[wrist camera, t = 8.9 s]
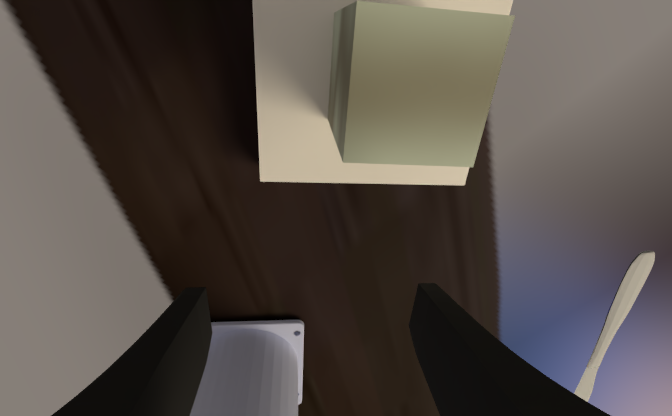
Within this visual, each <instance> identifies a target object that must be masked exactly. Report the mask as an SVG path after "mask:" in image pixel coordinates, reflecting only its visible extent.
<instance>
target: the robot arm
mask: <svg viewBox="0 0 672 416" xmlns="http://www.w3.org/2000/svg"><path fill="white" fill-rule="evenodd" d="M409 328H410V332H411V336H412V341H413V344H414V348H415V352H416V355H417V358H418V360H419V363H420V365H421V368H422V370H423V373H424V376H425V378H426V381H427V383H428V386H429V388H430V391H431V393H432V396H433V398H434V401H435V403H436V406H437V408H438V411H439V413H440V416H610V415H609V414H607V413H605V412H603V411H601V410H600V409H598V408H596V407H595V406H593V405H591V404H590V403H588V402H586V401H585V400H583V399H581V398H580V397H578V396H577V395H575V394H573V393H572V392H570V391H569V390H567V389H565V388H564V387H562V386H561V385H559V384H558V383H556V382H555V381H553V380H552V379H550V378H549V377H547V376H546V375H544V374H543V373H541V372H540V371H539V370H537V369H536V368H534V367H533V366H531V365H530V364H529V363H527V362H526V361H525V360H523V359H522V358H520V357H519V356H518V355H516V354H515V353H514V352H513V351H511V350H510V349H509V348H508V347H506V346H505V345H504V344H503V343H502V342H500V341H499V340H498V339H497V338H495V337H494V336H493V335H492V334H491V333H489V332H488V331H487V330H486V329H485V328H484V327H483V326H481V325H480V324H479V323H478V322H477V321H476V320H475V319H473V318H472V317H471V316H470V315H469V314H468V313H467V312H466V311H465V310H464V309H463V308H461V307H460V306H459V305H458V304H457V303H456V302H455V301H454V300H453V299H452V298H451V297H450V296H449V295H448V294H447V293H445V292H444V291H443V290H442V289H441V288H440V287H439V286H438V285H437V284H435V283H420V284H418V288H417V293H416V297H415V301H414V306H413V310H412V314H411V319H410V323H409ZM295 331H298V332H295ZM303 347H304V323H303V322H302V321H301V320H270V321H237V322H211V319H210V312H209V306H208V299H207V292H206V287H201V288H186V289H184V290H183V291H182V293H181V294H180V295H179V296H178V297H177V298H176V299H175V300H174V301H173V303H172V304H171V305H170V306H169V307H168V308H167V309H166V310H165V311H164V313H163V314H162V315H161V316H160V317H159V318H158V319H157V320H156V321H155V322H154V323H153V324H152V325H151V327H150V328H149V329H148V330H147V331H146V332H145V333H144V334H143V335H142V336H141V337H140V338H139V339H138V340H137V341H136V342H135V343H134V344H133V345H132V346H131V347H130V348H129V349H128V350H127V351H126V352H125V353H124V354H123V355H122V356H121V357H120V358H119V359H118V360H116V361H115V362H114V363H113V364H112V365H111V366H110V367H109V368H108V369H107V370H106V371H105V372H104V373H102V374H101V375H100V376H99V377H98V378H97V379H96V380H94V381H93V382H92V383H91V384H90V385H89V386H88V387H86V388H85V389H84V390H83V391H82V392H80V393H79V394H78V395H77V396H76V397H74V398H73V399H72V400H71V401H69V402H68V403H67V404H66V405H64V406H63V407H62V408H61V409H60V410H58V411H57V412H55V413H54V414H53V415H52V416H298V405H299V404H300V403H301V402H302V382H303Z"/></svg>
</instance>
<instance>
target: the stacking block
mask: <svg viewBox="0 0 672 416" xmlns="http://www.w3.org/2000/svg"><path fill="white" fill-rule="evenodd" d="M514 18H515V16H510V15H500V14H490V13H479V12H469V11H458V10H448V9H438V8H427V7H417V6H406V5H396V4H386V3H375V2H365V1H355V2H354V3H352V4H350V5H348V6H346V7H344V8H342V9H340V10H338V11H337V12H335V13H334V24H333V40H332V56H331V73H330V89H329V105H328V122H329V125H330V127H331V130H332V133H333V136H334V139H335V142H336V145H337V147H338V150H339V153H340V156H341V159H342V162H343V163H366V164H395V165H424V166H453V167H473V166H474V162H475V158H476V155H477V151H478V148H479V144H480V140H481V137H482V133H483V130H484V126H485V122H486V119H487V115H488V111H489V108H490V104H491V101H492V97H493V93H494V90H495V86H496V83H497V79H498V75H499V72H500V68H501V65H502V61H503V57H504V54H505V50H506V46H507V43H508V39H509V35H510V32H511V28H512V25H513V21H514Z"/></svg>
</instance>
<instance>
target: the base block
mask: <svg viewBox="0 0 672 416" xmlns="http://www.w3.org/2000/svg"><path fill="white" fill-rule="evenodd" d="M355 1H365V2H375V3H386V4H396V5H406V6H417V7H427V8H438V9H448V10H458V11H469V12H479V13H490V14H500V15H509V14H510V10H511V7H512V3H513V0H252V3H253V27H254V50H255V73H256V97H257V120H258V143H259V166H260V181H263V182H316V183H368V184H421V185H465V182H466V178H467V174H468V170H469V167H453V166H424V165H395V164H366V163H343V162H342V159H341V156H340V153H339V150H338V147H337V145H336V142H335V139H334V136H333V133H332V130H331V127H330V125H329V122H328V105H329V89H330V73H331V56H332V40H333V24H334V13H335V12H337V11H338V10H340V9H342V8H344V7H346V6H348V5H350V4H352V3H354V2H355Z"/></svg>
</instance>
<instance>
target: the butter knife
mask: <svg viewBox="0 0 672 416" xmlns="http://www.w3.org/2000/svg"><path fill="white" fill-rule="evenodd" d="M654 259H655V253H654V252H653V251H644V252H641V253H640V254H638V255H637V256H636V258H635V259H634V260H633V261H632V262H631V264H630V265H629V267H628V269H627V271H626V273H625V275H624V277H623V279H622V281H621V283H620V285H619V288H618V290H617V292H616V294H615V297H614V299H613V301H612V303H611V306H610V308H609V310H608V313H607V316H606V319H605V322H604V325H603V327H602V330H601V333H600V335H599V338H598V340H597V343H596V345H595V348H594V350H593V353H592V355H591V357H590V360H589V362H588V364H587V368H586V370H585V372H584V374H583V376H582V378H581V380H580V382H579V384H578V386H577V388H576V390H575V393H574V394H575V395H577V396H578V397H580V398H581V399H583V400H585V401H586V402H588V400H589V398H590V395H591V393H592V391H593V386H594V382H595V377H596V373H597V371H598V368H599V367H600V364H601V361H602V359H603V356H604V354H605V352H606V350H607V348H608V346H609V344H610V343H611V341H612V339H613V337H614V335H615V333H616V332H617V330H618V328H619V327H620V325H621V324H622V322H623V320H624V319H625V317H626V316H627V314H628V313H629V311H630V309H631V307H632V305H633V303H634V302H635V300H636V298H637V296H638V294H639V292H640V290H641V288H642V286H643V285H644V283H645V281H646V279H647V277H648V275H649V273H650V271H651V268H652V266H653V264H654Z"/></svg>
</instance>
